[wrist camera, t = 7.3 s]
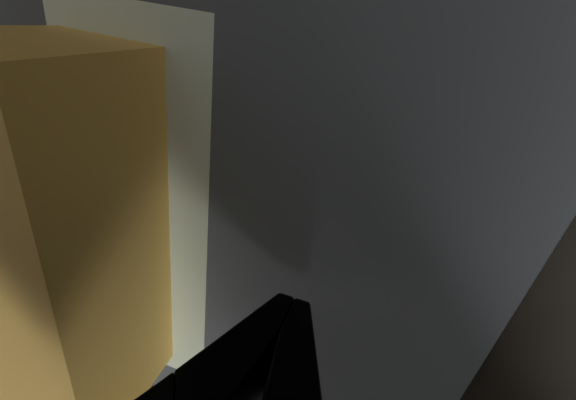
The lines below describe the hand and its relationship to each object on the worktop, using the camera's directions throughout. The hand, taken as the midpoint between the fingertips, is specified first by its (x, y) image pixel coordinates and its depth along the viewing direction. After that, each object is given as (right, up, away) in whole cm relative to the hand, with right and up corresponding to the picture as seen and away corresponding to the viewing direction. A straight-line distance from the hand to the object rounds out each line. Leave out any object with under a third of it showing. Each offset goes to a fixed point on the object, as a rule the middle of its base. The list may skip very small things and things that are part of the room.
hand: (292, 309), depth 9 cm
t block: (-8, +3, +3) cm, 9 cm away
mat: (-4, +2, +2) cm, 5 cm away
